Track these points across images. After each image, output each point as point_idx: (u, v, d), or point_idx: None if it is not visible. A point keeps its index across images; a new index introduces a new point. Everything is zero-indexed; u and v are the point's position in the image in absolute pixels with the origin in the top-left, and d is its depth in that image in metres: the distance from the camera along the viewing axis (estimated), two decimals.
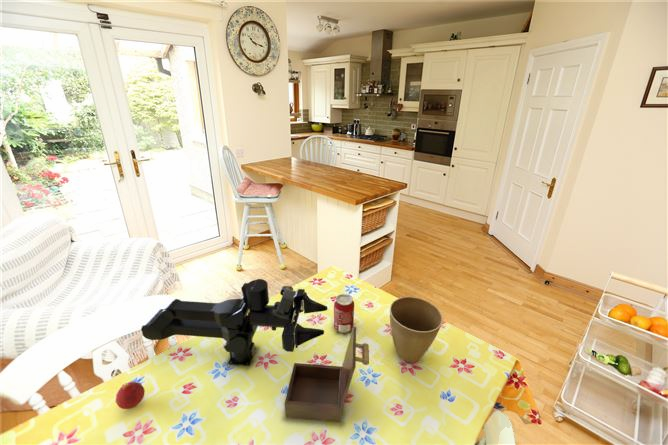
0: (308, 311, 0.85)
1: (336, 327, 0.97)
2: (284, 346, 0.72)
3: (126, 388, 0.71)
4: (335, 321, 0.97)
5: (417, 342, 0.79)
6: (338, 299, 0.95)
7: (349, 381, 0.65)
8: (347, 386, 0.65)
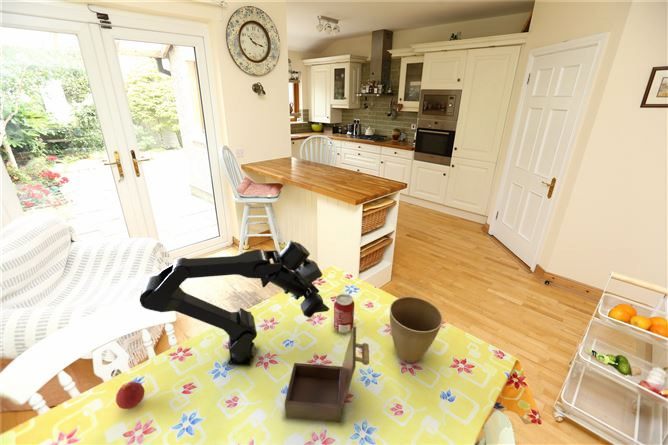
0: None
1: (336, 327, 0.97)
2: (309, 310, 0.78)
3: (126, 388, 0.71)
4: (335, 321, 0.97)
5: (417, 342, 0.79)
6: (338, 299, 0.95)
7: (349, 381, 0.65)
8: (347, 386, 0.65)
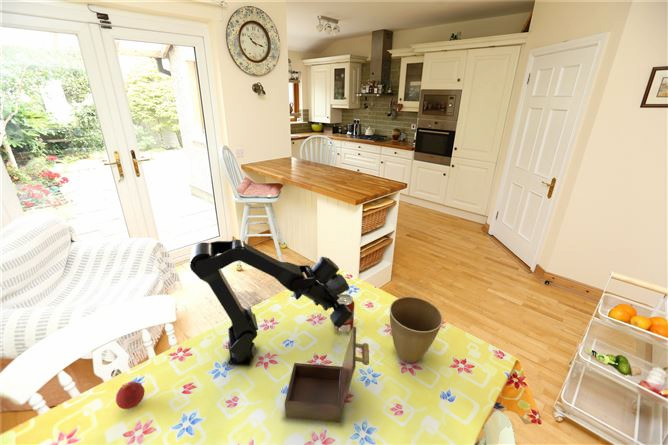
0: None
1: (336, 327, 0.97)
2: (339, 321, 0.85)
3: (126, 388, 0.71)
4: None
5: (417, 342, 0.79)
6: (338, 299, 0.95)
7: (349, 381, 0.65)
8: (347, 386, 0.65)
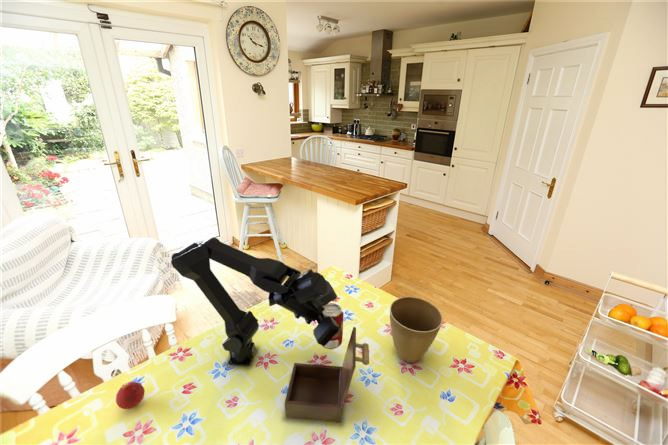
0: None
1: None
2: (323, 338, 0.70)
3: (126, 388, 0.71)
4: None
5: (417, 342, 0.79)
6: (324, 310, 0.81)
7: (349, 381, 0.65)
8: (347, 386, 0.65)
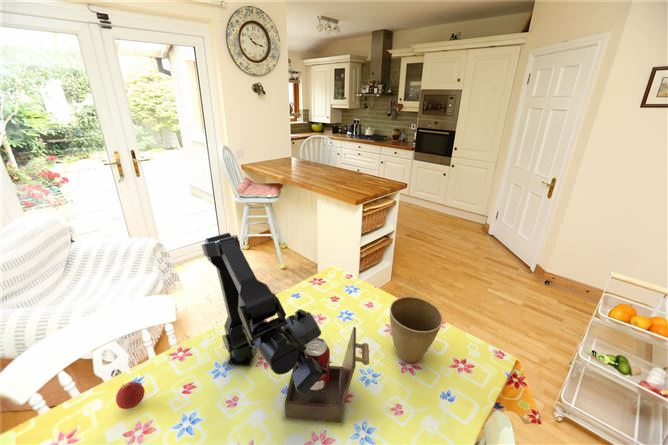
0: None
1: None
2: (303, 386, 0.59)
3: (126, 388, 0.71)
4: None
5: (417, 342, 0.79)
6: (308, 346, 0.70)
7: (349, 381, 0.65)
8: (347, 386, 0.65)
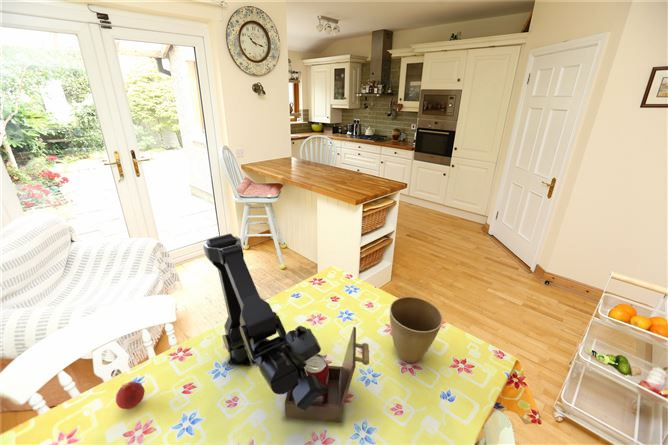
0: None
1: None
2: (303, 403, 0.61)
3: (126, 388, 0.71)
4: None
5: (417, 342, 0.79)
6: (307, 362, 0.72)
7: (349, 381, 0.65)
8: (347, 386, 0.65)
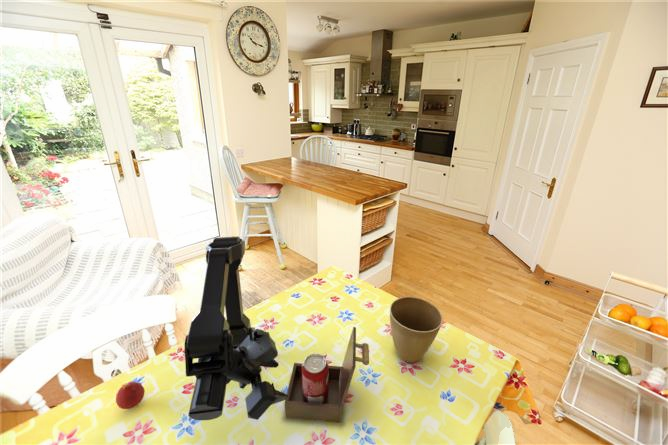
0: None
1: (305, 398, 0.73)
2: (254, 411, 0.57)
3: (126, 388, 0.71)
4: (303, 390, 0.73)
5: (417, 342, 0.79)
6: (307, 362, 0.72)
7: (349, 381, 0.65)
8: (347, 386, 0.65)
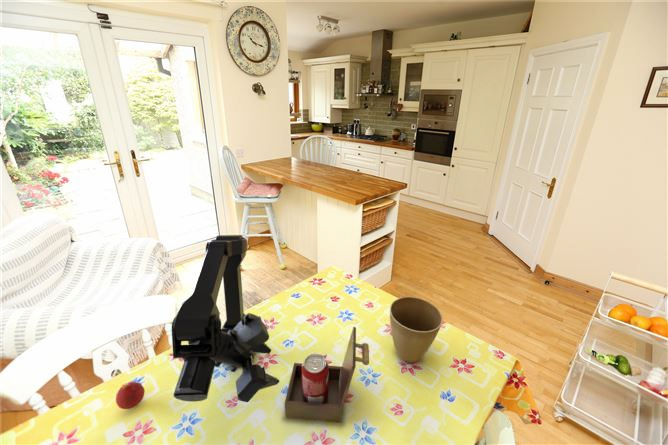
0: None
1: (305, 398, 0.73)
2: (244, 394, 0.57)
3: (126, 388, 0.71)
4: (303, 390, 0.73)
5: (417, 342, 0.79)
6: (307, 362, 0.72)
7: (349, 381, 0.65)
8: (347, 386, 0.65)
